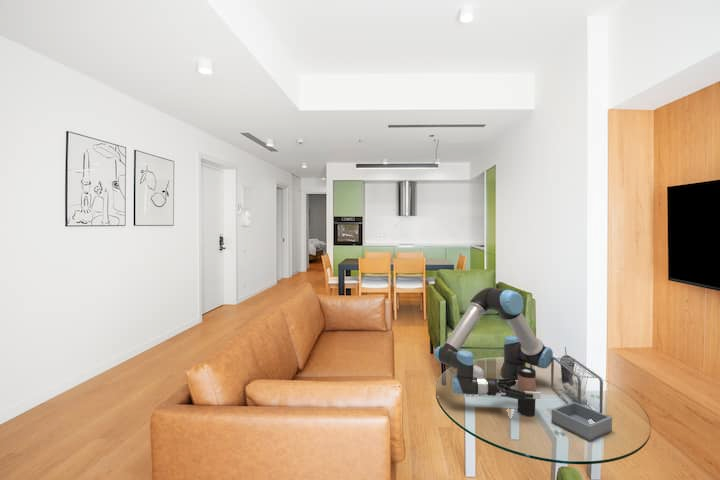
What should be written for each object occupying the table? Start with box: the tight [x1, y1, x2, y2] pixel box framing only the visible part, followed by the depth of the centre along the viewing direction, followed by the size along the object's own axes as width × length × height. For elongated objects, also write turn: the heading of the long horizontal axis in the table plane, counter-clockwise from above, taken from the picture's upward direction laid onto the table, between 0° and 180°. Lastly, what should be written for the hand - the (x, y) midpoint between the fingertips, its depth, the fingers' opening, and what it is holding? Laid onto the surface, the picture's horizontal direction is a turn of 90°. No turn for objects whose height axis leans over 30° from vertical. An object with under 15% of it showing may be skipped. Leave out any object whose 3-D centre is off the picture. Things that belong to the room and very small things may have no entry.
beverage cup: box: [559, 346, 576, 384], centre depth 196 cm, size 7×7×20 cm
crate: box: [550, 401, 613, 443], centre depth 150 cm, size 16×16×6 cm
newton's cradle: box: [550, 356, 604, 414], centre depth 174 cm, size 30×10×18 cm, turn 173°
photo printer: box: [473, 364, 485, 378], centre depth 188 cm, size 10×4×12 cm, turn 38°
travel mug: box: [516, 366, 537, 418], centre depth 162 cm, size 8×8×20 cm
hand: (535, 389), depth 162 cm, fingers open, 12 cm apart
